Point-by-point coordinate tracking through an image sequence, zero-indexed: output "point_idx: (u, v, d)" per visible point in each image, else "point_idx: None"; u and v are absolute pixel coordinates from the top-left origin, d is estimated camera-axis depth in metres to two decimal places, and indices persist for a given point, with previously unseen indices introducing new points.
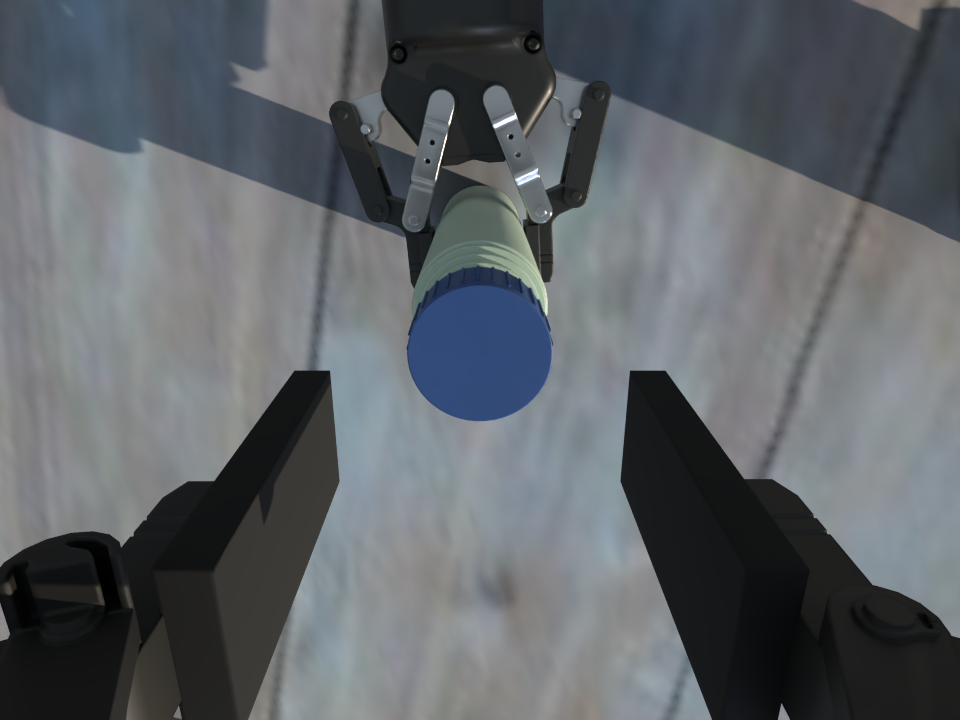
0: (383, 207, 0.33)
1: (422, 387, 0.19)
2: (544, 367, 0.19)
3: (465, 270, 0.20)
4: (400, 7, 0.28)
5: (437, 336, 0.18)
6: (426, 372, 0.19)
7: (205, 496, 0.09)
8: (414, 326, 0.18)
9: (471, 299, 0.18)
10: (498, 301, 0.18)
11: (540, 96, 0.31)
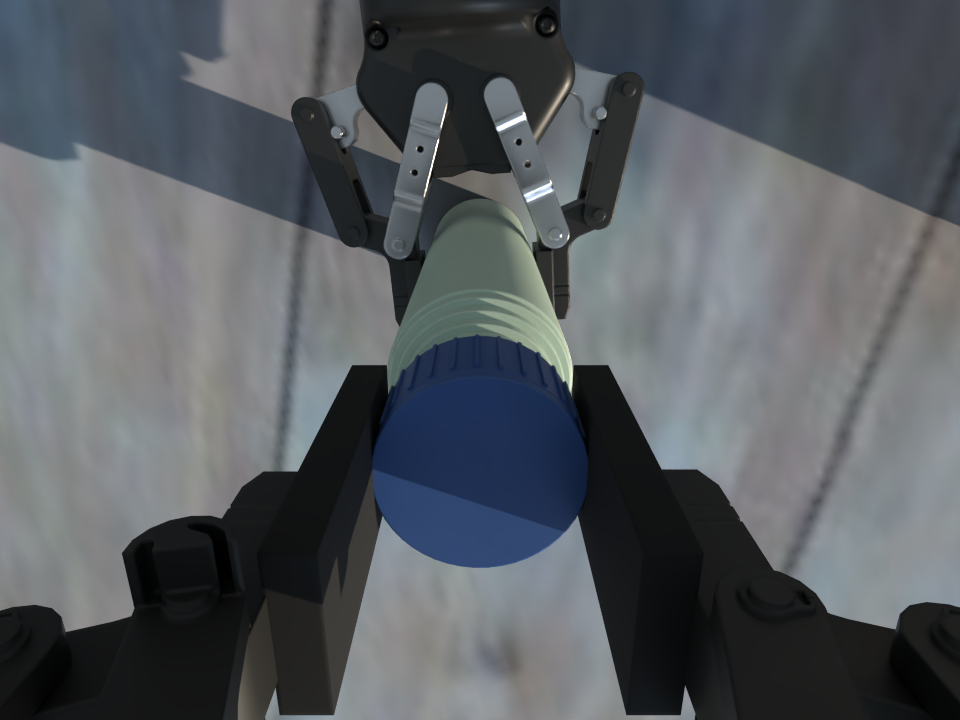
0: (360, 229, 0.27)
1: (394, 522, 0.13)
2: (577, 494, 0.12)
3: (458, 342, 0.14)
4: None
5: (415, 450, 0.12)
6: (399, 501, 0.13)
7: (293, 484, 0.10)
8: (380, 436, 0.12)
9: (467, 397, 0.12)
10: (508, 400, 0.12)
11: (555, 91, 0.25)
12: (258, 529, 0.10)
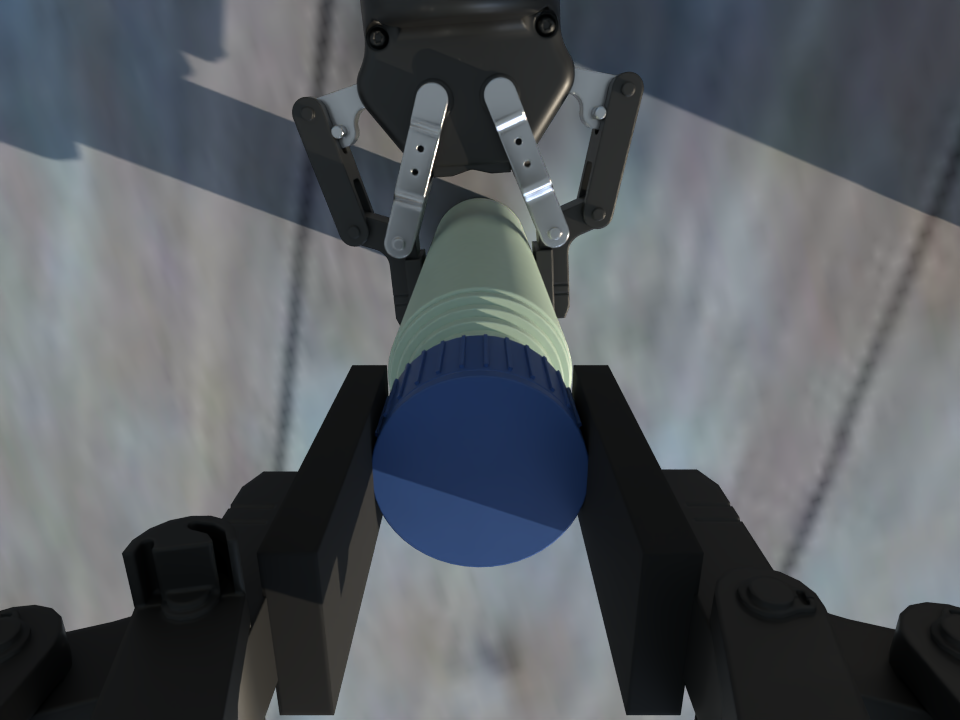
0: (361, 228, 0.27)
1: (552, 536, 0.13)
2: (468, 385, 0.12)
3: None
4: None
5: (469, 536, 0.13)
6: (527, 536, 0.13)
7: (293, 484, 0.10)
8: (465, 564, 0.13)
9: (401, 509, 0.13)
10: (391, 476, 0.12)
11: (555, 91, 0.25)
12: (258, 529, 0.10)
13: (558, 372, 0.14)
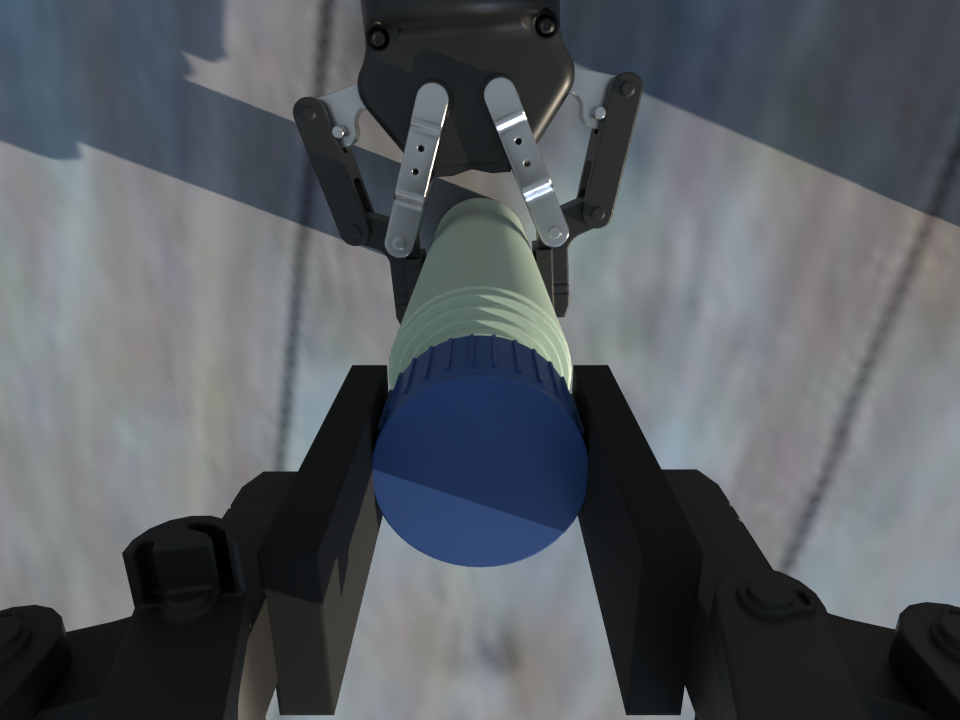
0: (361, 228, 0.27)
1: (526, 393, 0.12)
2: (390, 511, 0.13)
3: None
4: None
5: (550, 468, 0.12)
6: (534, 416, 0.12)
7: (293, 484, 0.10)
8: (587, 462, 0.12)
9: (537, 533, 0.13)
10: (504, 548, 0.13)
11: (555, 91, 0.25)
12: (258, 529, 0.10)
13: (398, 377, 0.14)
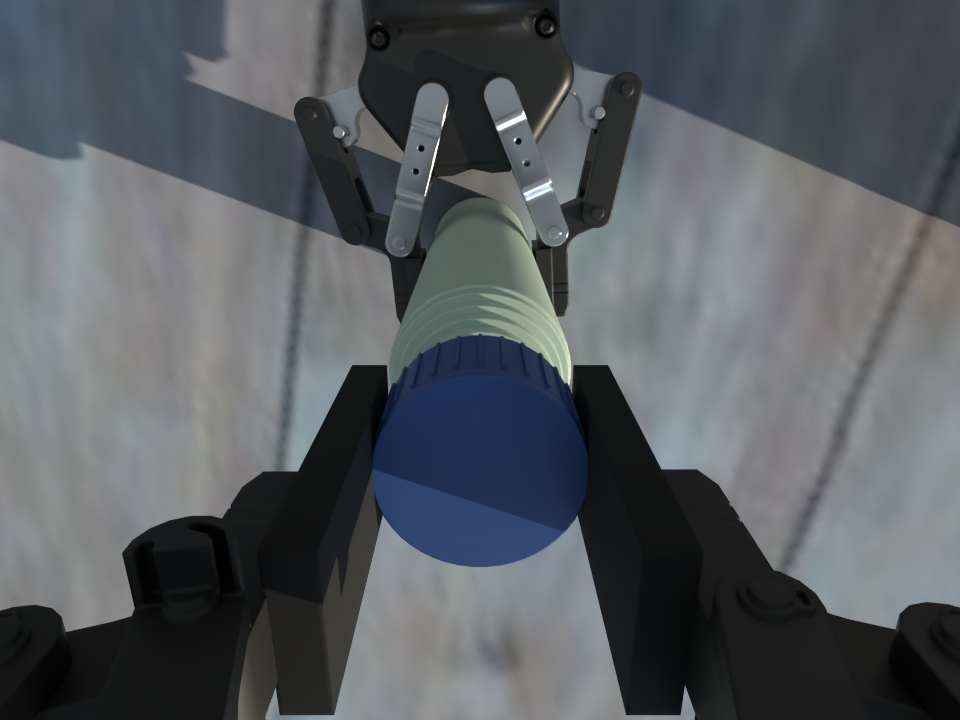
0: (362, 227, 0.27)
1: (378, 464, 0.12)
2: (542, 541, 0.13)
3: None
4: None
5: (449, 419, 0.12)
6: (398, 450, 0.12)
7: (293, 484, 0.10)
8: (431, 387, 0.12)
9: (527, 407, 0.12)
10: (556, 433, 0.12)
11: (554, 91, 0.25)
12: (258, 529, 0.10)
13: None
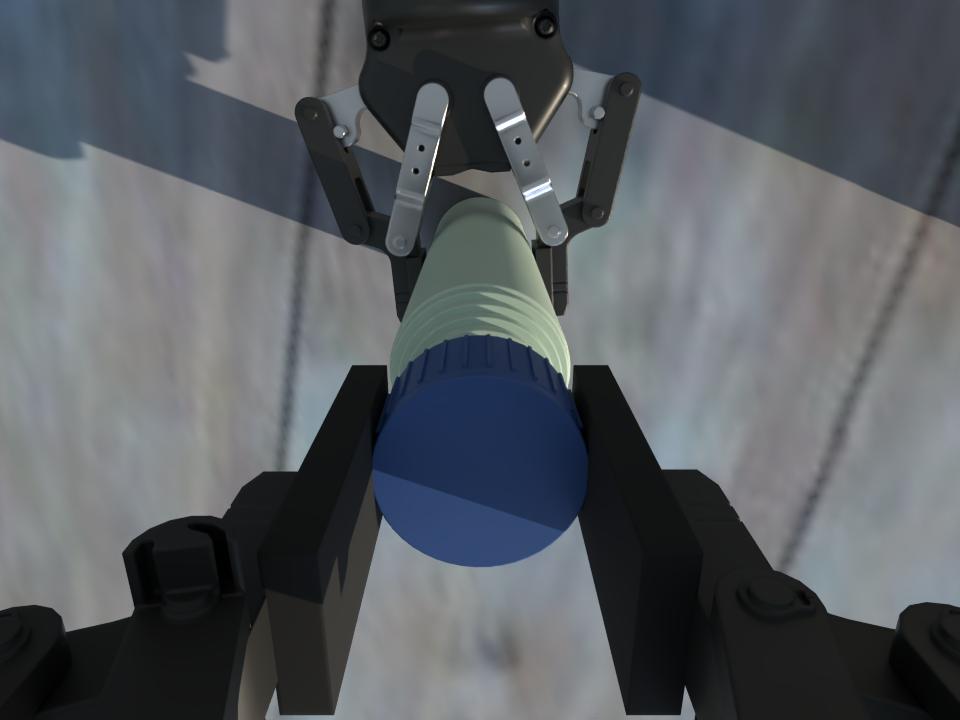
0: (362, 226, 0.27)
1: (494, 561, 0.13)
2: (536, 400, 0.12)
3: None
4: None
5: (429, 517, 0.13)
6: (474, 549, 0.13)
7: (293, 484, 0.10)
8: (404, 538, 0.13)
9: (392, 458, 0.12)
10: (409, 426, 0.12)
11: (554, 91, 0.25)
12: (258, 529, 0.10)
13: None
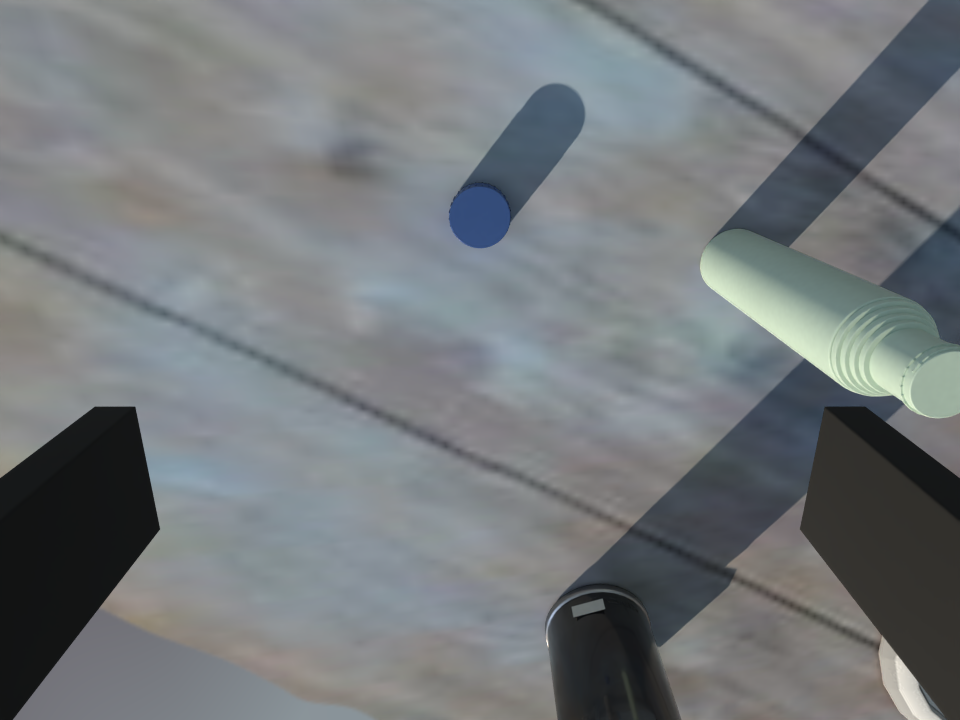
0: None
1: (484, 245, 0.45)
2: (495, 193, 0.44)
3: None
4: None
5: (465, 231, 0.45)
6: (478, 241, 0.45)
7: None
8: (458, 238, 0.45)
9: (455, 211, 0.44)
10: (460, 201, 0.44)
11: None
12: None
13: None
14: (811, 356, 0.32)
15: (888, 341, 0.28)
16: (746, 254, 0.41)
